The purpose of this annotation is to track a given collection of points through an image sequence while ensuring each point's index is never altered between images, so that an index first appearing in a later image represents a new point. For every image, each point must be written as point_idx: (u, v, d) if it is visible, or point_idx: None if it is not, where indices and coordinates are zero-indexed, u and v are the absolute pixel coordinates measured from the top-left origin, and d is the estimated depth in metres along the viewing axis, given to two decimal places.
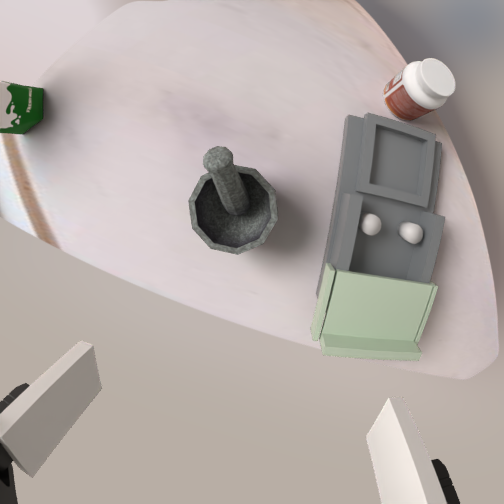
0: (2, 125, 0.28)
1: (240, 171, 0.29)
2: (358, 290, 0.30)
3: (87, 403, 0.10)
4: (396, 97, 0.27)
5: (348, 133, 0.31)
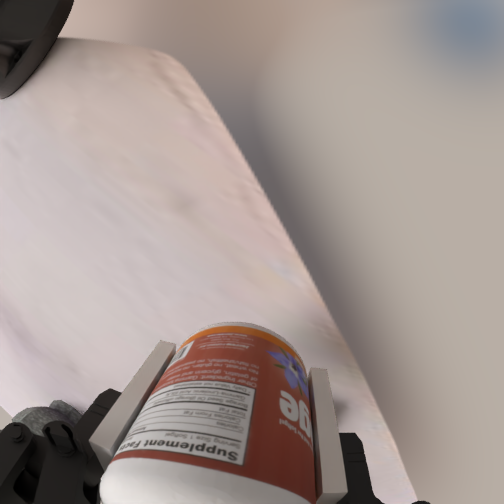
0: None
1: (32, 431, 0.16)
2: None
3: None
4: None
5: None
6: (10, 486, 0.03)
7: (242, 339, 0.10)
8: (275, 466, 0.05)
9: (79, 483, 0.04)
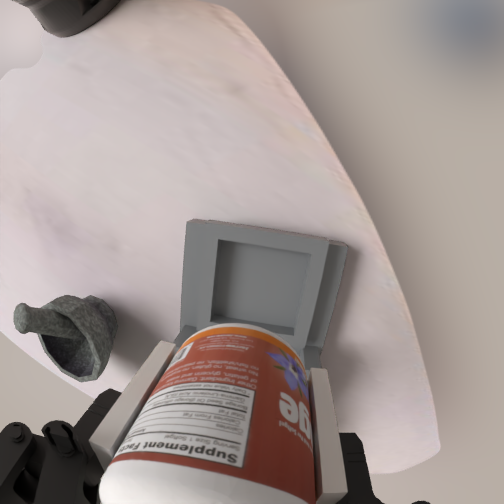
0: None
1: (60, 312, 0.22)
2: None
3: None
4: None
5: (186, 250, 0.25)
6: (9, 486, 0.03)
7: (242, 340, 0.10)
8: (275, 468, 0.05)
9: (79, 483, 0.04)
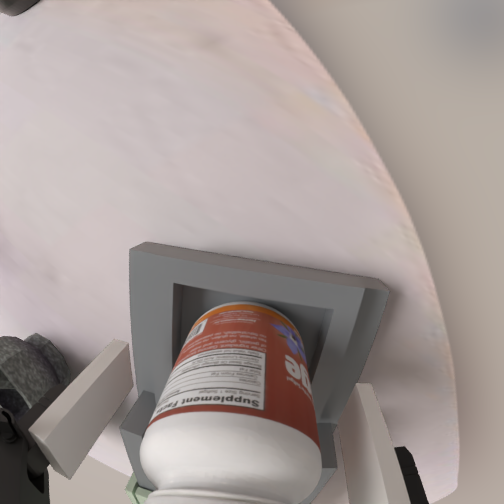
0: None
1: None
2: None
3: (120, 401, 0.10)
4: None
5: (132, 292, 0.15)
6: None
7: (250, 315, 0.12)
8: (287, 411, 0.07)
9: (22, 467, 0.04)
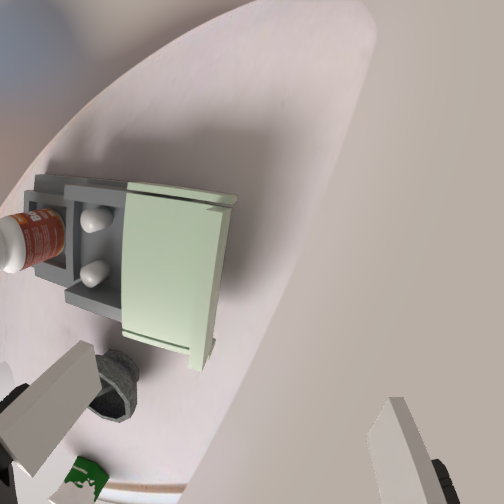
0: (90, 492, 0.37)
1: None
2: (138, 306, 0.24)
3: (87, 403, 0.10)
4: (37, 263, 0.25)
5: (45, 278, 0.30)
6: None
7: None
8: None
9: None
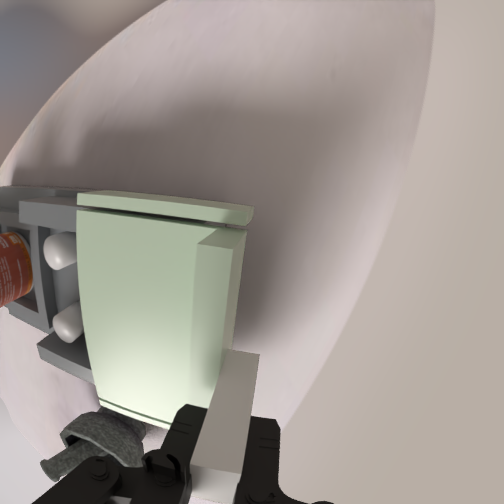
0: None
1: (66, 443, 0.19)
2: (113, 375, 0.15)
3: None
4: (0, 307, 0.16)
5: (20, 318, 0.22)
6: None
7: None
8: None
9: None
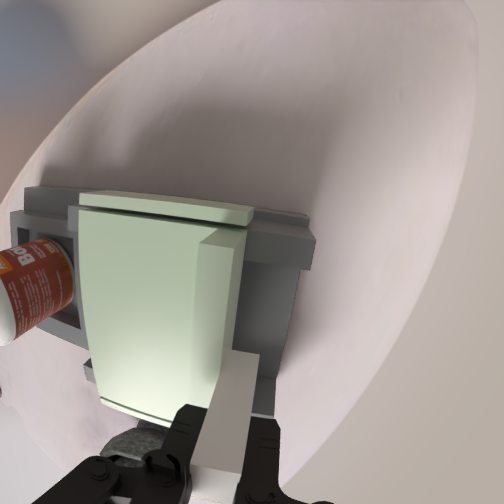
0: None
1: None
2: (114, 373, 0.15)
3: None
4: None
5: (51, 332, 0.21)
6: None
7: None
8: None
9: None
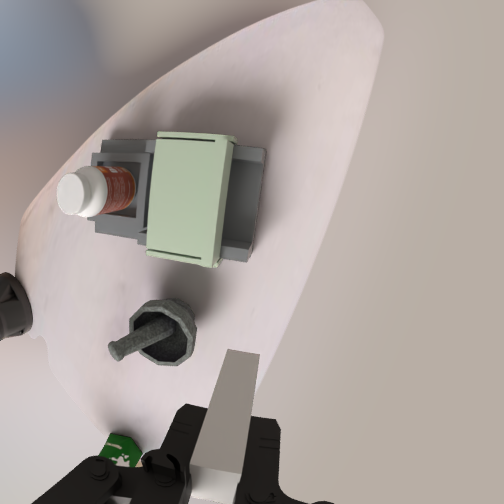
0: None
1: (132, 328, 0.36)
2: (161, 225, 0.32)
3: None
4: (110, 211, 0.32)
5: (107, 232, 0.38)
6: None
7: None
8: None
9: None
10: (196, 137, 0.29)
